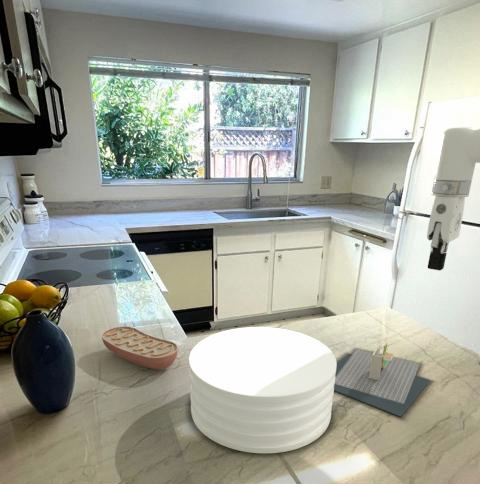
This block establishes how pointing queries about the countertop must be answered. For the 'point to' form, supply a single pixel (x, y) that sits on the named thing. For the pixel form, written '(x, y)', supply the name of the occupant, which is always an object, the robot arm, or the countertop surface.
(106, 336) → the mitochondrion model
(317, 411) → the plate stack
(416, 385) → the mat
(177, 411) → the countertop surface
